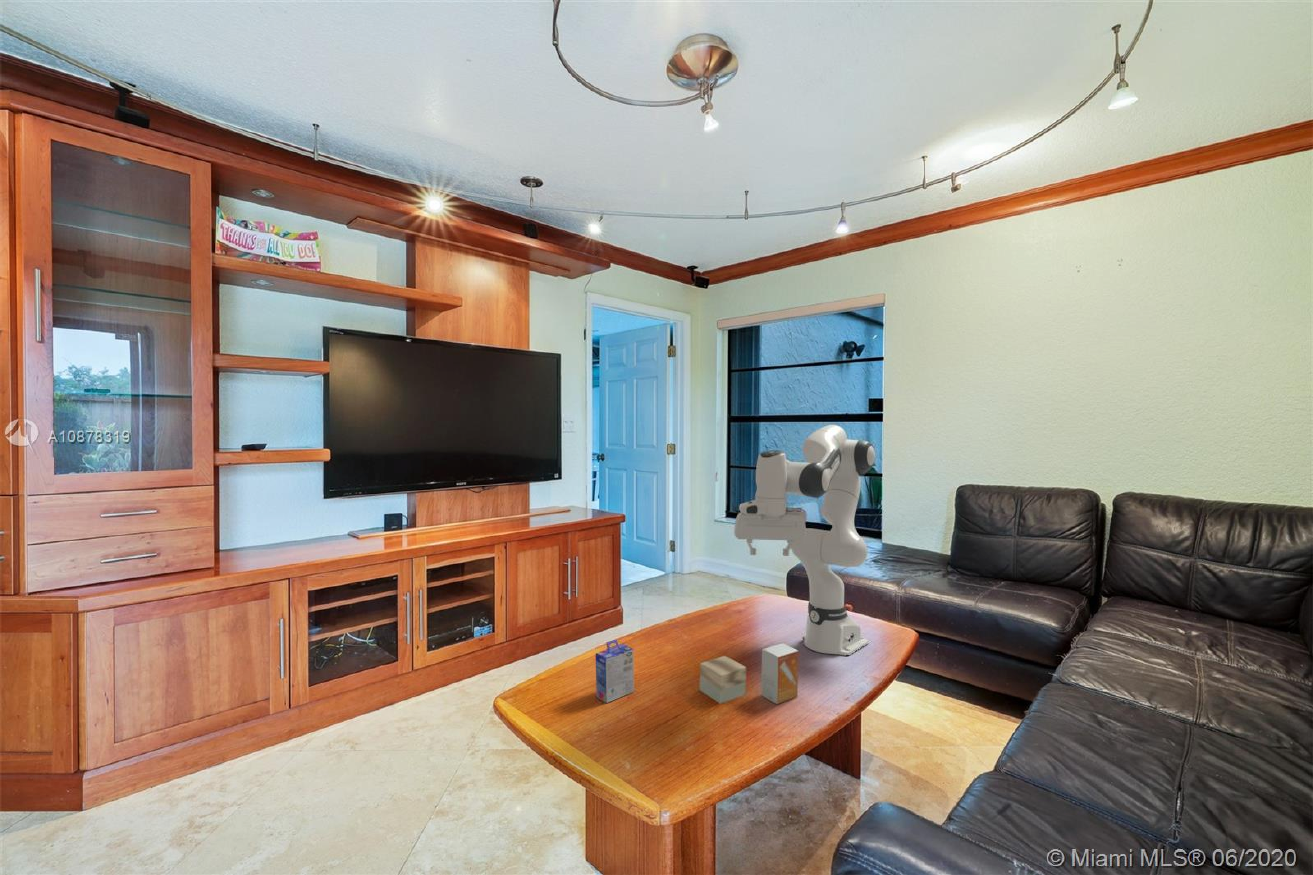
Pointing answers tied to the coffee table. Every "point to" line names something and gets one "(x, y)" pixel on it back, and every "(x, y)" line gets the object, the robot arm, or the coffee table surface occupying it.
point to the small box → (779, 673)
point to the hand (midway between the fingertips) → (769, 555)
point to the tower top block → (723, 672)
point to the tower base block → (722, 691)
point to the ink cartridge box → (614, 672)
